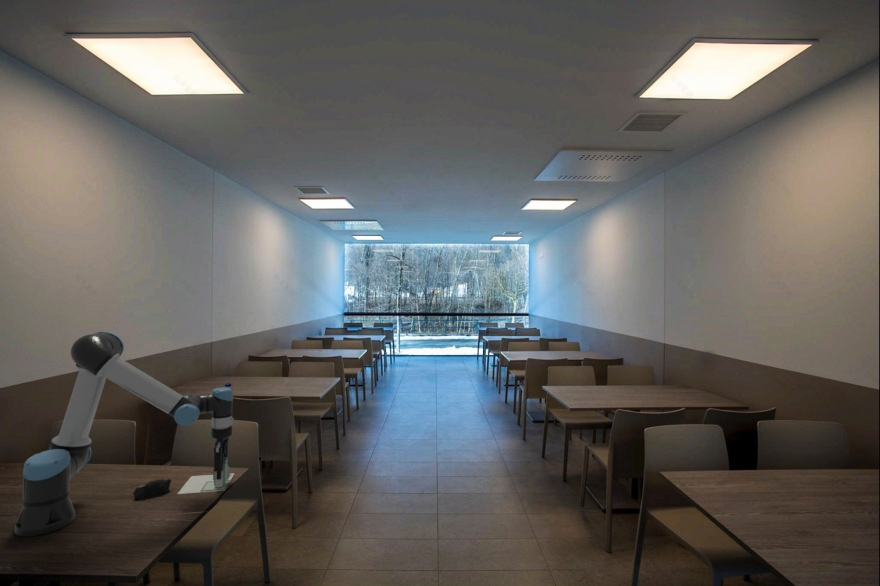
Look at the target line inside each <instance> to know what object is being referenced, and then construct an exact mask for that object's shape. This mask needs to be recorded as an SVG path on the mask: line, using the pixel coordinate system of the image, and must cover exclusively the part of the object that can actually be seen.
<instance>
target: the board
mask: <svg viewBox="0 0 880 586" xmlns="http://www.w3.org/2000/svg"><path fill="white" fill-rule="evenodd" d="M234 475H235V473H234V472H233V473H230V474H229V476H228V477H227V482H226V484H225V486H223V487H215V486H214V480H213V474H203V475H191V476H190V478H189V479H188V480H187V481H186V482H185V484H183V486H182V487H181V488H180V490H179V491H178V492H177V495H184V494H195V493H196V494H198V493H209V492H222V491H226V489H227V488H228V485H229V484H230V482H231V480H232V478H233V477H234Z"/></svg>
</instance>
